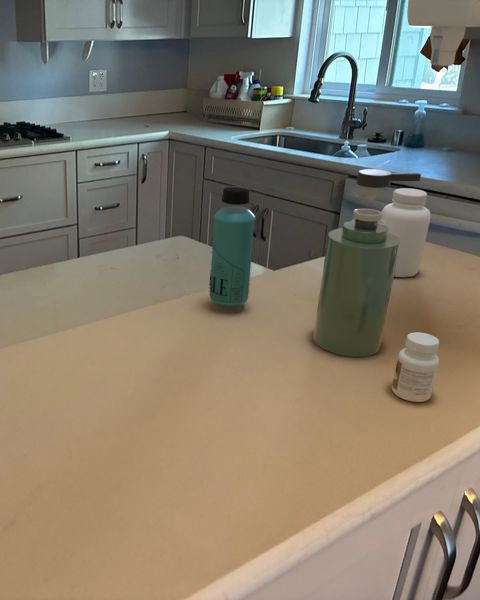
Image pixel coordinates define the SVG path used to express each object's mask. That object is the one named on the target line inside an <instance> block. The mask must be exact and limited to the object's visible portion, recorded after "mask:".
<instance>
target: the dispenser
mask: <svg viewBox="0 0 480 600" xmlns="http://www.w3.org/2000/svg"><path fill="white" fill-rule="evenodd" d="M382 217H383V213H382V210H377V209H373V208H356V209H354V210H353V212H352V218H353V219H355V221H353V220H349V221H346V222H344V223H343V225H342V227H340V228H334V229H332V230H331V231H329V232H328V234H327V241H326V247H325V255H324V261H323V269H322V276H321V281H320V289H319V295H318V302H317V308H316V315H315V321H314V322H315V323H314V329H313V337H312V338H313V341H314V343H315V344H316V345H317V346H318V347H319V348H321V349H322V350H325V351H327V352H328V353H331V354H335V355H338V356H342V357H351V358H363V357H370V356H373V355H375V354H377V353H378V352H379V351H380V349H381V345H382V339H383V334H384V329H385V324H386V320H387V315H388V309H389V304H390V299H391V294H392V289H393V283H394V279H395V277H394V274H395V269H396V264H397V259H398V254H399V249H400V243H401V240H400V239H399V238H398V237H397V236H395V235H393V234H391V233H388V230H389V228H388V227H387V226H385V225H383V224H380V223H378V221H380V220H382Z"/></svg>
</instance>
